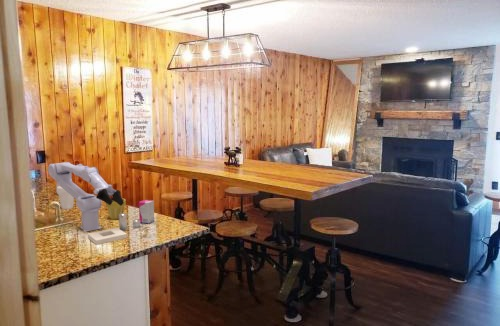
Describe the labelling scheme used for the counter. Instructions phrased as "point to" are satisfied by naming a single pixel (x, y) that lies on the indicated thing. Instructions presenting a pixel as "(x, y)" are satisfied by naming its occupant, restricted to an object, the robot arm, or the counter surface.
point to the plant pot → (115, 209)
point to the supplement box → (146, 211)
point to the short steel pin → (136, 223)
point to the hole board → (107, 236)
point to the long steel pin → (123, 221)
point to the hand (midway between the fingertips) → (116, 203)
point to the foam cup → (65, 198)
